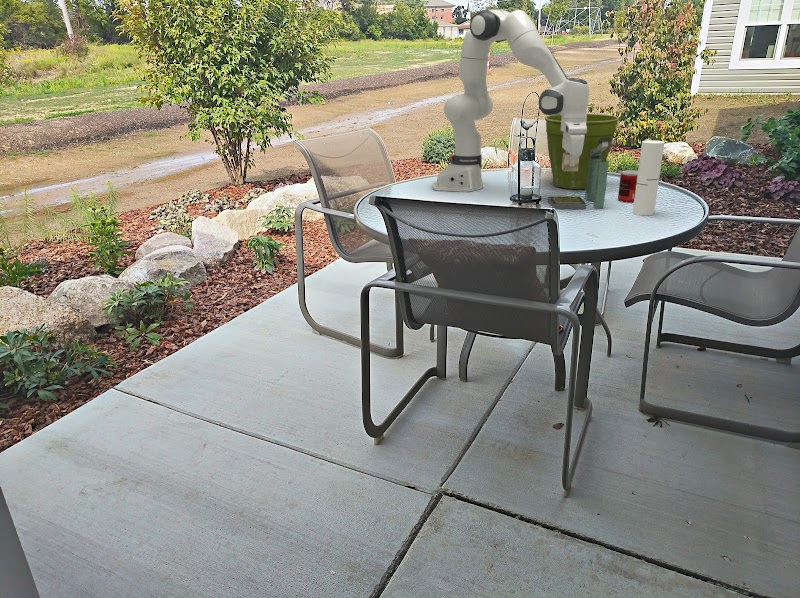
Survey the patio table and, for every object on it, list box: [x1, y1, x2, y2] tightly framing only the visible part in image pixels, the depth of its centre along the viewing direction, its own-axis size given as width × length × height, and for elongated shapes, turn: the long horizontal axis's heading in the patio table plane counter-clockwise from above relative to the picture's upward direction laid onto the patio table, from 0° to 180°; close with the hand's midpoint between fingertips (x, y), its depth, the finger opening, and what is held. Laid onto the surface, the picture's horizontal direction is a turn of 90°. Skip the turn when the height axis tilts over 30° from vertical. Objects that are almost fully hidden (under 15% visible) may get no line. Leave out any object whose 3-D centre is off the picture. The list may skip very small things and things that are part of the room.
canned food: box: [617, 169, 638, 203], centre depth 228 cm, size 8×8×11 cm
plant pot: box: [544, 113, 620, 190], centre depth 251 cm, size 30×30×29 cm
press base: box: [547, 157, 609, 210], centre depth 223 cm, size 19×17×17 cm
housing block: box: [562, 153, 579, 171], centre depth 218 cm, size 5×5×6 cm
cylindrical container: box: [632, 140, 665, 216], centre depth 206 cm, size 7×7×25 cm
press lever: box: [589, 138, 611, 157], centre depth 218 cm, size 16×4×4 cm, turn 176°
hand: (570, 164), depth 218 cm, fingers closed on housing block, 5 cm apart
